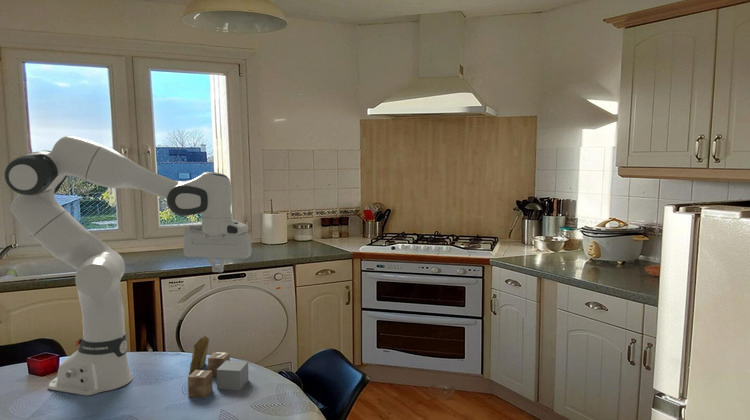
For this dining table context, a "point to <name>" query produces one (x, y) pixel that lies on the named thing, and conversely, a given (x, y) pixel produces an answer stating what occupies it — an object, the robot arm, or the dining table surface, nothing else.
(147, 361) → the dining table surface
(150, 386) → the dining table surface
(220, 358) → the walnut block seven
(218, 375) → the grey block
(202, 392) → the walnut block one
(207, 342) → the rock
